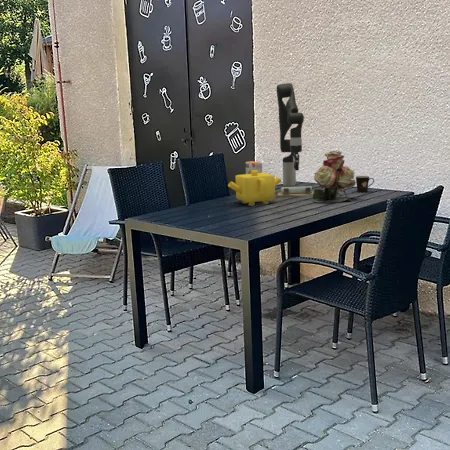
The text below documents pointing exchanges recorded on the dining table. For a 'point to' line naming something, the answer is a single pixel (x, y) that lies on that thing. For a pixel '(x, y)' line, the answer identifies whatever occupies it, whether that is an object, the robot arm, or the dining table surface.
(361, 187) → the coffee mug
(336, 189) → the rose bouquet
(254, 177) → the yellow boxy teapot
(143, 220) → the dining table surface
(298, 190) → the rod
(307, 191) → the clip board
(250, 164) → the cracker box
